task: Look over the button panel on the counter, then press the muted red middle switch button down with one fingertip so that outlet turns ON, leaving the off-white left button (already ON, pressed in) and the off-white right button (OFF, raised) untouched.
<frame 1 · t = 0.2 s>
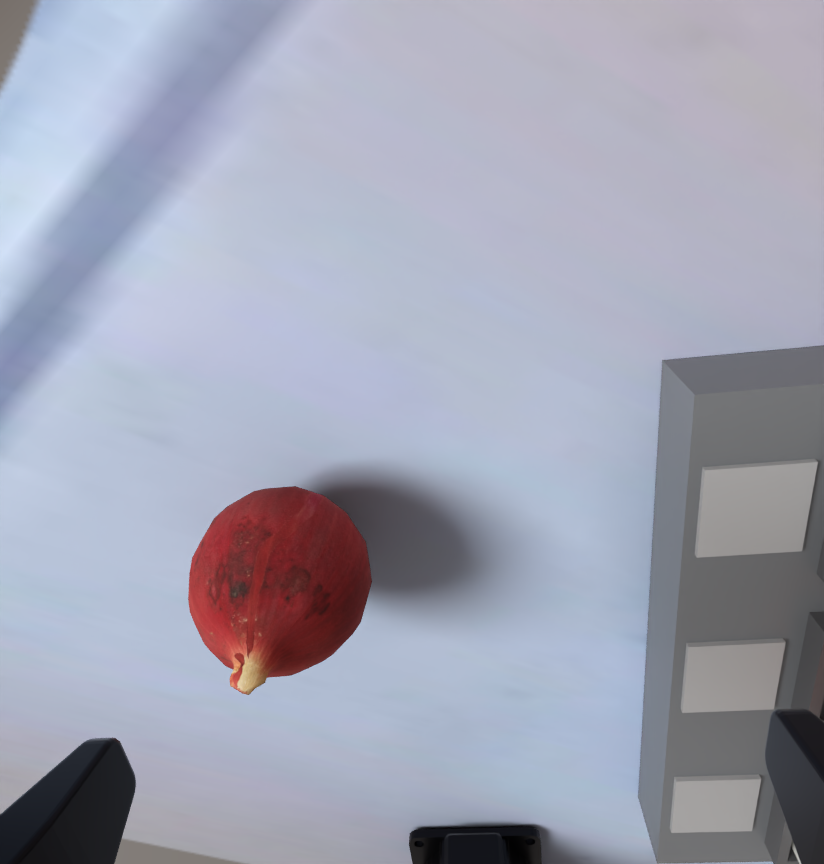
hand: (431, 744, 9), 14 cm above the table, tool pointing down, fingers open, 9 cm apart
button panel: (804, 610, 25), on the table
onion: (306, 512, 24), on the table
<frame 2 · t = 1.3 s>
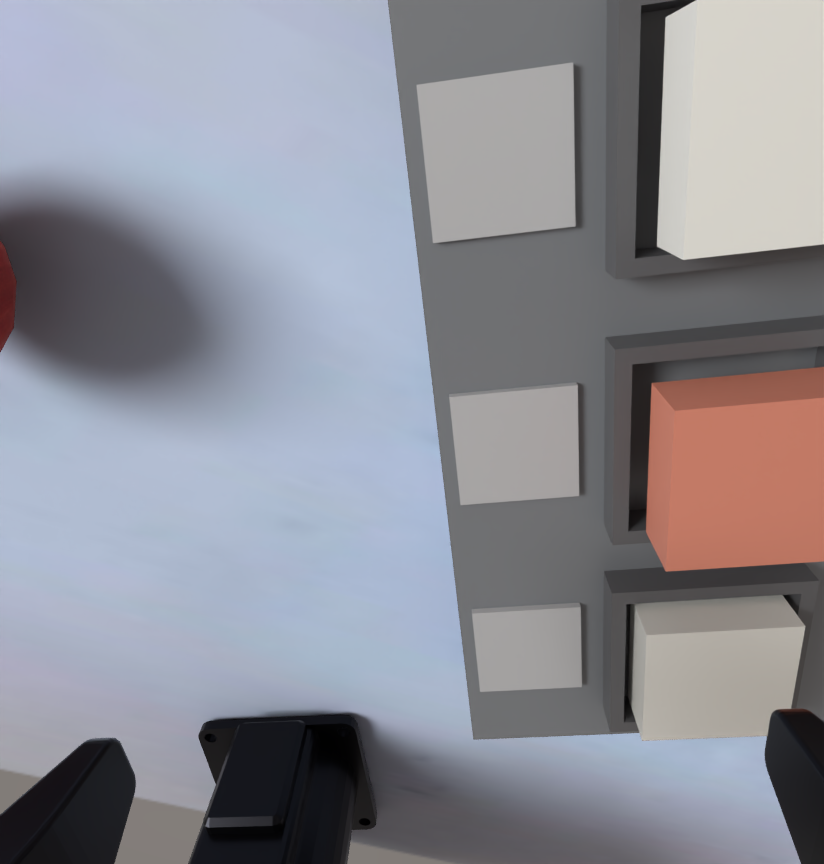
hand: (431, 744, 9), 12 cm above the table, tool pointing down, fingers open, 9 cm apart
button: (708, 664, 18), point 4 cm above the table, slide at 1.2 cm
button middle: (751, 470, 14), point 5 cm above the table, slide at 0.0 cm
button panel: (639, 389, 19), on the table
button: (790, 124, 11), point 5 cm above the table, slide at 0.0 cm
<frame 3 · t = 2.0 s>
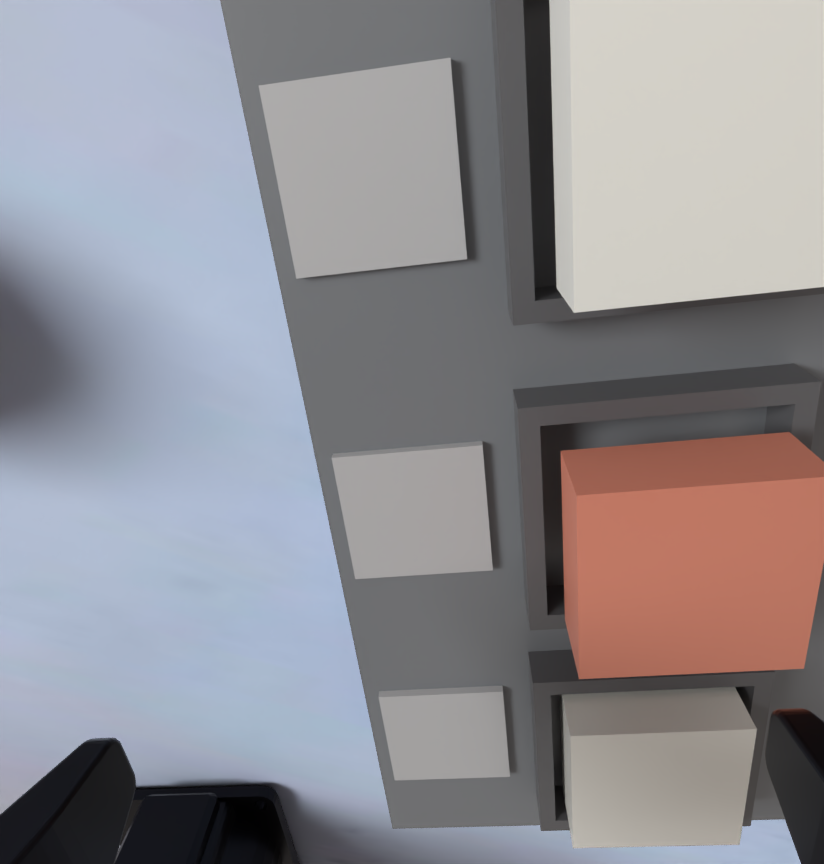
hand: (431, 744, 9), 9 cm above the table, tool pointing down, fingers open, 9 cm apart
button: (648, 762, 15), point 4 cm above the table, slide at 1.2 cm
button middle: (681, 558, 11), point 5 cm above the table, slide at 0.0 cm
button panel: (573, 437, 16), on the table
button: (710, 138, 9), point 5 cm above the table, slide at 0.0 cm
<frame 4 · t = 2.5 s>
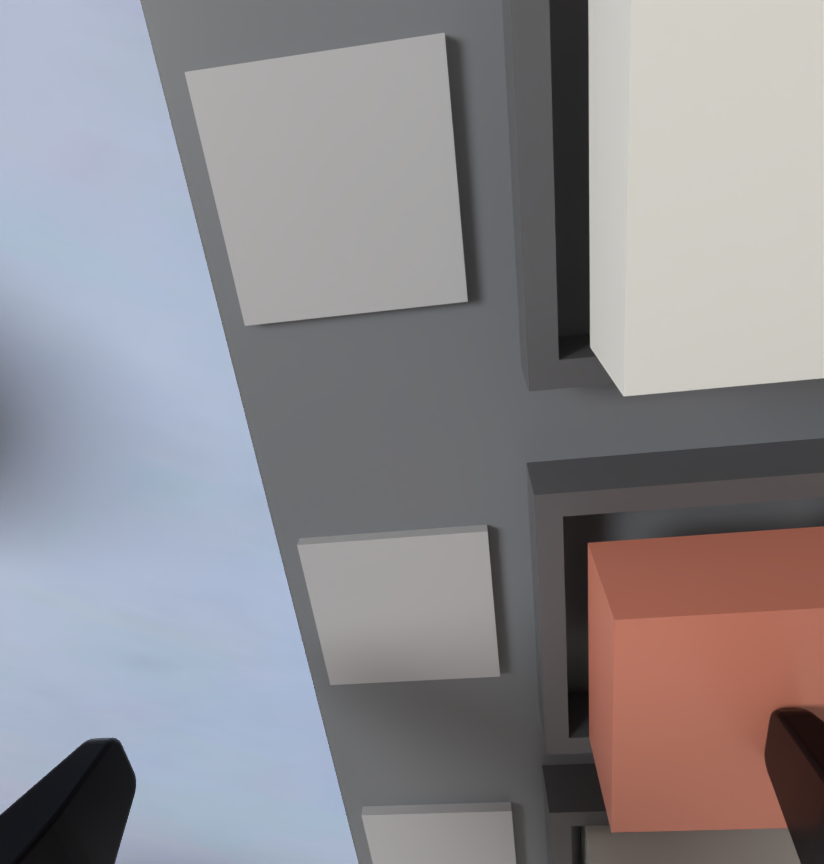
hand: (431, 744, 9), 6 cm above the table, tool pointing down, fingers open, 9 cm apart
button middle: (743, 682, 9), point 5 cm above the table, slide at 0.2 cm, touching gripper
button panel: (595, 501, 14), on the table
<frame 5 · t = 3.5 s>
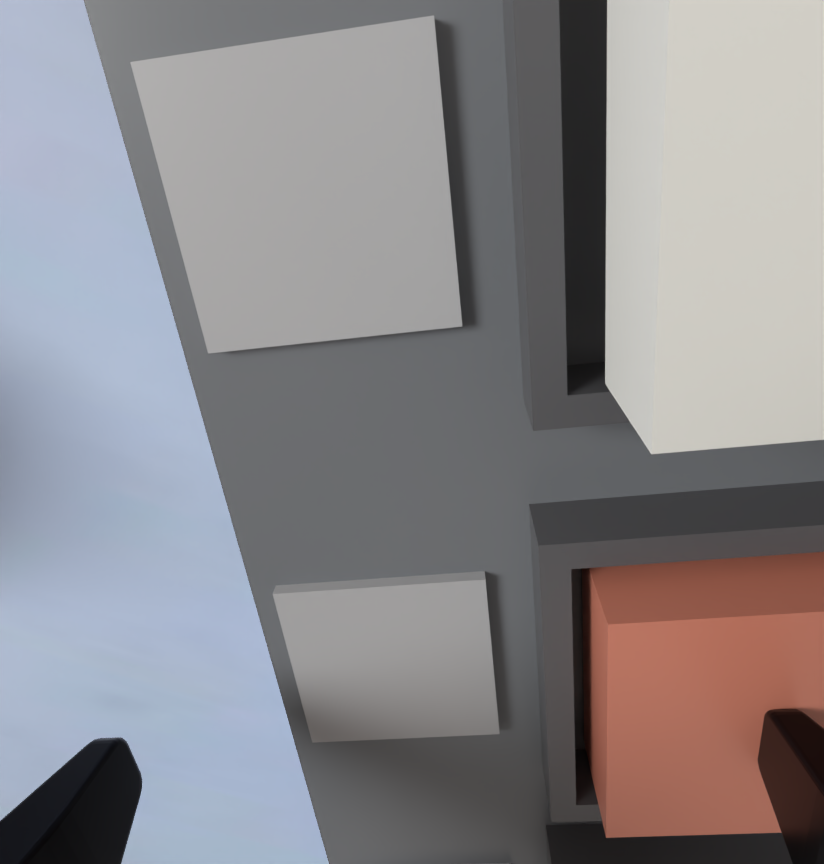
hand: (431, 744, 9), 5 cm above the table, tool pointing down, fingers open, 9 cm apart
button middle: (738, 686, 9), point 4 cm above the table, slide at 1.4 cm, touching gripper
button panel: (603, 534, 13), on the table
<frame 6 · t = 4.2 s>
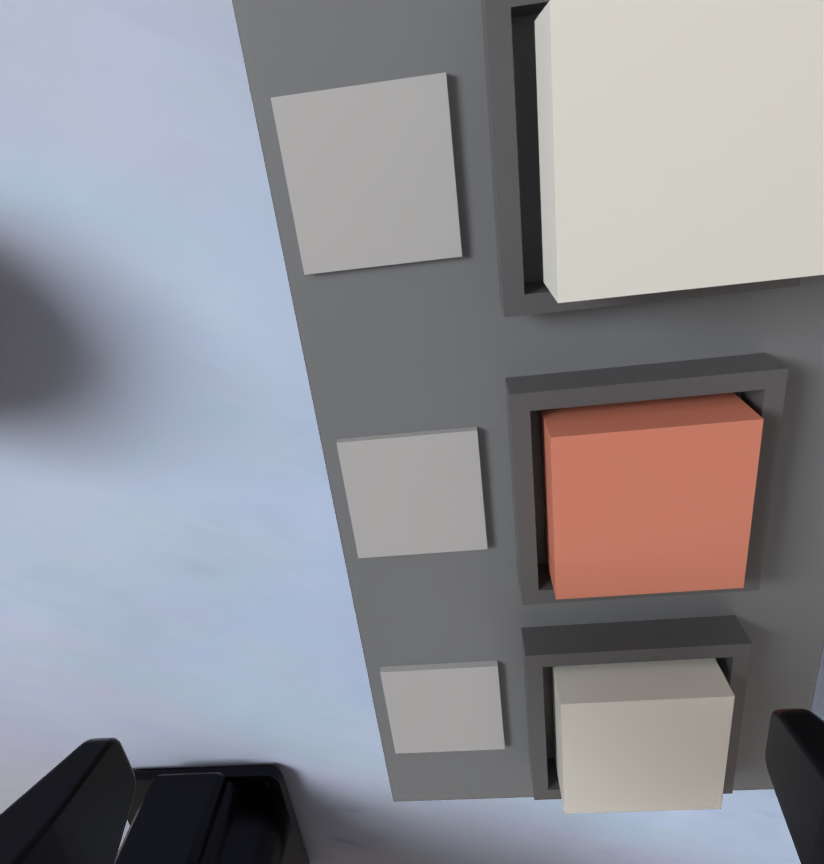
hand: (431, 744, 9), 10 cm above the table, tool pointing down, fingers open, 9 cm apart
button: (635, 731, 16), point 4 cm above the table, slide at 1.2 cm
button middle: (640, 496, 14), point 4 cm above the table, slide at 1.4 cm
button panel: (564, 426, 17), on the table
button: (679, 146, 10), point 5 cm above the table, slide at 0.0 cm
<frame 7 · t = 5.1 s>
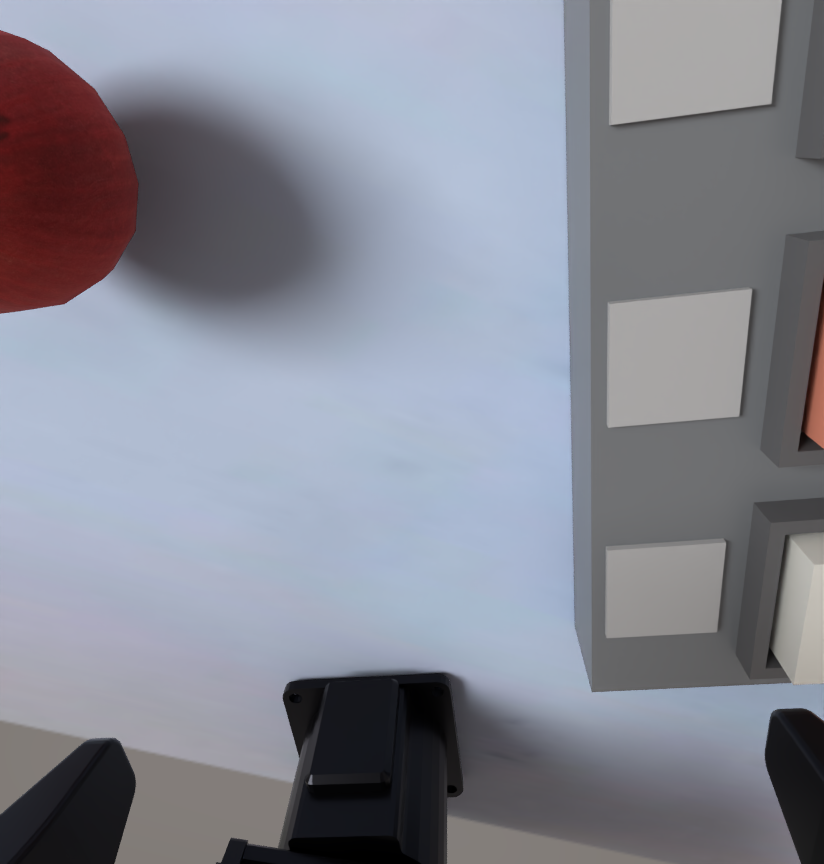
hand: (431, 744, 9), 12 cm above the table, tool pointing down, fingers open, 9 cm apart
button panel: (785, 311, 18), on the table
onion: (85, 169, 17), on the table
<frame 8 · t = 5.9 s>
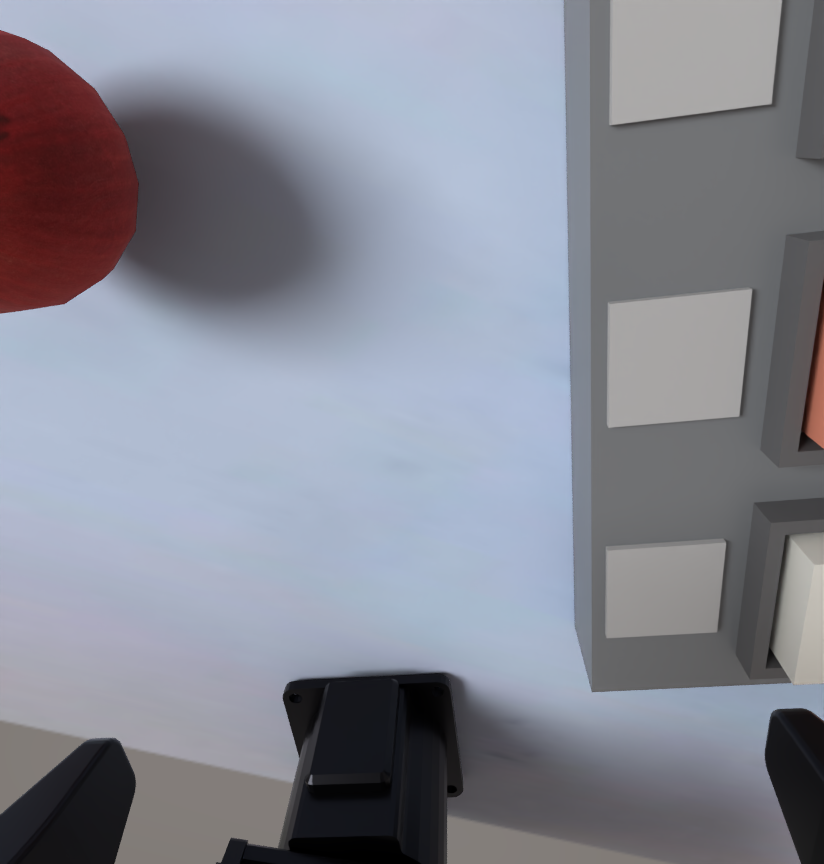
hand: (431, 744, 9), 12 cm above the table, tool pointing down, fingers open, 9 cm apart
button panel: (785, 311, 18), on the table
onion: (85, 169, 17), on the table
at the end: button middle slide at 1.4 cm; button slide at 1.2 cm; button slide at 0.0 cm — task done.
